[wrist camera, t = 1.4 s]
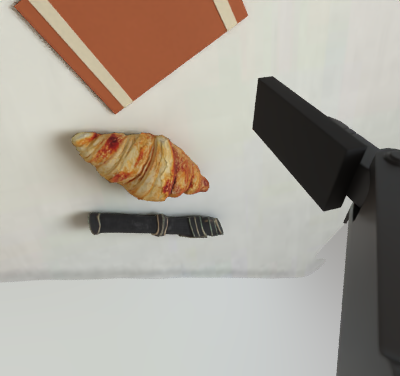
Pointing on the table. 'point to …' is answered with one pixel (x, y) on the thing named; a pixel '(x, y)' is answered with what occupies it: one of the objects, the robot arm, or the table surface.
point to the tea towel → (129, 38)
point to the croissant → (142, 164)
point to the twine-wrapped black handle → (154, 225)
